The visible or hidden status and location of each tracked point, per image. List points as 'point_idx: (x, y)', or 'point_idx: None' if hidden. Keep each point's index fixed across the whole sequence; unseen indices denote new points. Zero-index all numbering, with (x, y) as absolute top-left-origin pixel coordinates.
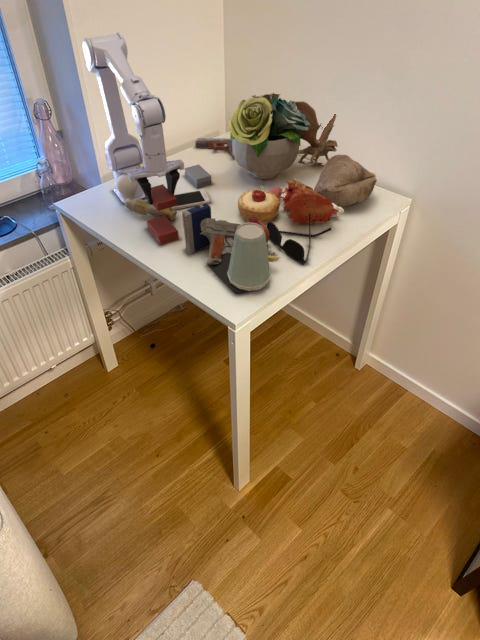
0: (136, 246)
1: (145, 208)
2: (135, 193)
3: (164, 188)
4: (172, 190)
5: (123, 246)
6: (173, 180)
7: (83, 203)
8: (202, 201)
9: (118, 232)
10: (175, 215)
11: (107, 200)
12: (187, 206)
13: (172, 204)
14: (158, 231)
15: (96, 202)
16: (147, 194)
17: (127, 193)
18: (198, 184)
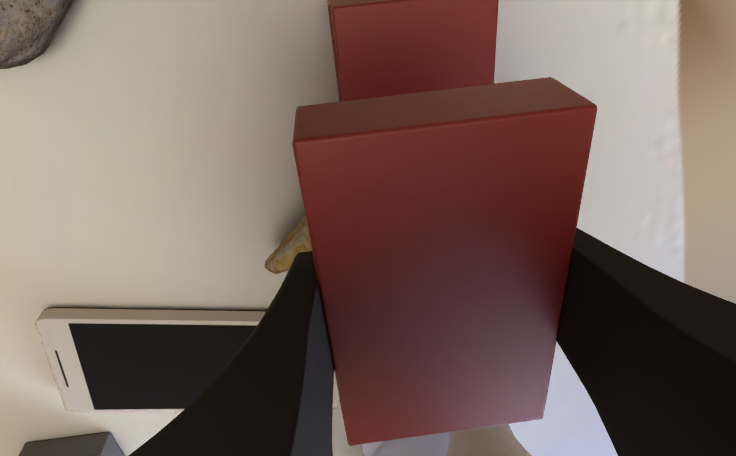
0: (605, 47)
1: None
2: (421, 451)
3: (360, 386)
4: (302, 306)
5: (665, 82)
6: (263, 425)
7: (610, 446)
8: (86, 323)
9: (610, 222)
10: (281, 243)
11: (523, 443)
12: (188, 312)
13: (360, 109)
14: (472, 62)
15: (566, 441)
16: (680, 285)
17: (506, 446)
18: (93, 450)
